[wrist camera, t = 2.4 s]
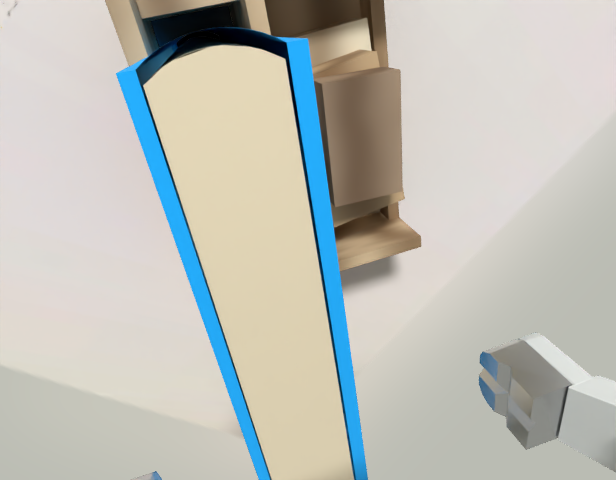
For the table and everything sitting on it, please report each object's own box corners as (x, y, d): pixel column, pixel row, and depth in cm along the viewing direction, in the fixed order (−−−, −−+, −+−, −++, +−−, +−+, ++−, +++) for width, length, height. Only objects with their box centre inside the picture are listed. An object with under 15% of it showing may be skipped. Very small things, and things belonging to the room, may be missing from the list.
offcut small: (383, 66, 27) (400, 69, 25) (387, 180, 31) (402, 191, 29) (310, 79, 26) (321, 84, 24) (324, 194, 30) (335, 207, 28)
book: (268, 229, 38) (378, 489, 17) (222, 241, 37) (274, 528, 16) (222, 22, 30) (326, 8, 8) (162, 32, 29) (104, 46, 8)
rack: (363, -38, 30) (445, -67, 21) (386, 214, 41) (447, 270, 31) (130, 6, 28) (103, -4, 18) (217, 263, 38) (228, 340, 29)
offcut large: (351, 18, 31) (367, 17, 28) (377, 186, 38) (391, 198, 35) (263, 42, 30) (270, 44, 27) (305, 210, 37) (315, 224, 34)
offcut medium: (359, 49, 29) (376, 51, 27) (388, 186, 35) (404, 198, 32) (280, 78, 29) (290, 83, 26) (322, 212, 34) (334, 227, 32)
